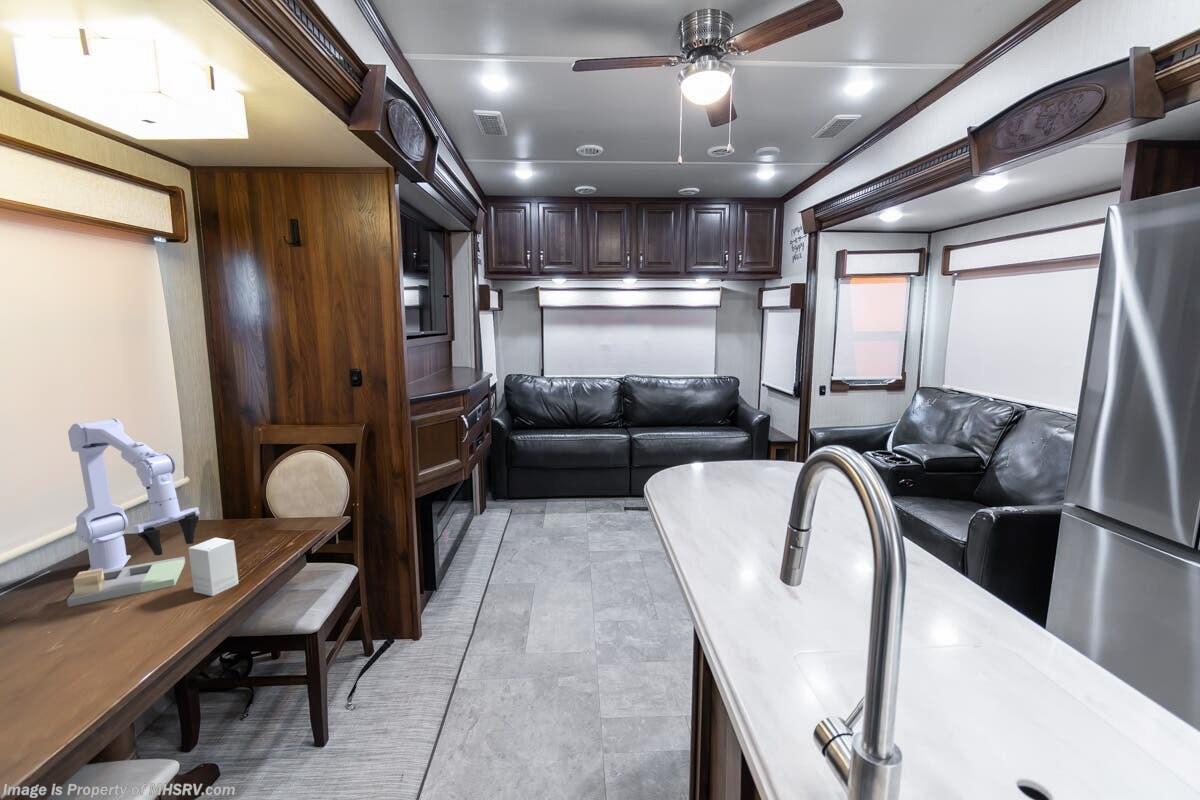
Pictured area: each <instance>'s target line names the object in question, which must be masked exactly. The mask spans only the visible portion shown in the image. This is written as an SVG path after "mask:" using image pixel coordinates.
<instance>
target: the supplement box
mask: <svg viewBox="0 0 1200 800" xmlns="http://www.w3.org/2000/svg"><path fill="white" fill-rule="evenodd" d="M188 555H189V564H190V565H189V566H190V570H191V571H190V572H191V578H192V586H193V593H196V594H202V595H205V596H210V597H214V596H216V595H218V594H220V593H223V592H224V591H226V590H228V589H231V588H233V587H235V586H237V585H239V574H238V565H237V556H236V548H235V540H233V539H226V538H220V537H213V538H210V539H207V540H204V541H203V542H200V543H198V544H194V545H193V546H189V547H188Z"/></svg>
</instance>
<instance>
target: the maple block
mask: <svg viewBox="0 0 1200 800" xmlns="http://www.w3.org/2000/svg"><path fill="white" fill-rule="evenodd" d="M88 570H89V569H88ZM88 570H83V571H79V572H78V573H77V575H75V576H74V578H73V579H72V581H73V589H74V590H75V596H78V595H84V594H89V593H94V592H99V591H100V590H101V589H102V587H103V586H104V585H105V581H104V574H103V568H100V569H95V570H89V571H88Z"/></svg>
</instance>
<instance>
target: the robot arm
mask: <svg viewBox="0 0 1200 800" xmlns="http://www.w3.org/2000/svg"><path fill="white" fill-rule="evenodd" d="M67 434H68V440H69V446H70V449H71V451H72V452H74V453H77V454H78V456H79V457H78V458H79V462H80V463H79V465H80V469H81V474H82V482H83V485H84V492H85V497H86V503H87V507H86V508H85V509H84V510H82V511H81V512H80V513H79V514H78V515H77V516H76V519H75V520H76V521H75V522H76V526H75V533H76V536H77V538H78V540H80V541H81V542H83V543H86V545H87V551H88V556H89V557H88V558H89V565H90V567H89V568H88V570H87V571H89V570H95V569H100V568H103V571H105V570H111V569H116V568H122V567H126V566H125V565H126V564H127V563H128V561H129V560H130V559H131V557H132V556H131V555H130V554H128V555H127V549H126V543H125V537H124V536H123V535H125V532H126V530H127V529H128V526H129V520H128V516H127V515H126V513H125V508H123V507H122V506H120V505H117V504H115V503H113V502H112V495H111V491H110V485H109V480H108V473H107V472H108V471H107V467H106V460H105V456H104V451H105V450H106V449H107V448H108V447H109V446H111V447H113V448H114V449H116V450H118V451H119V452H121V453H120V455H121V458H122V459H123V460H124V461H126V462H127V463H128V464H129V465H131V466H132V467H133V468H135V469H136V470H135V471H136V475H137V477H138V478H139V480H140V481H141V485H142V486H143V487H145V491H146V494H147V497H148V503H149V508H150V511H151V515H152V516H151V517H152V519H149V520H146V521H144V522H141V523H139V524H135V525H132V527H133V531H134V534H137V535H138V536H139V537H140V539H142V540H143V541H144V542H145V543H146V544H147V545H148V547H149V549H151V551H152V553H153V554H154V556H162V555H163V549H162V544H161V539H160V538H161V536H160V534H161V531H160V529H156V528H158V527H161V526H164V525H167V524H171V523H174V522H176V521H177V522H178V524H179V525H180V527H181V530H182V533H183V537H184V541H185V543H186V545H191V544H194V543H195V542H194V540H195V532H196V528H197V524H198V522H199V519H200V517H199V515H200V510H199V509H200V508H199V507H196V506H195V507H191V508H186V509H183V510H181V509H180V504H179V499H178V496H177V495H178V494H177V490H176V488H175V483H174V479H173V478H174V477H173V474H174V473H175V471H176V462H175V461H174V458H173V456H171V455H170V454H169V453H158V452H156V450H154V449H153V448H151V447H150V446H148V445H147V444H146V443H144V442H142V441H135V440H133V439H132V438H131V437H130V436H129V435H128V434H127V433H125V427H124V425H123V423H122V421H120V420H119V419H117V418H109V419H103V420H97V421H89V422H81V423H79V422H77V423H73V424H72V425H71V426H70V428H69V429H68V431H67Z"/></svg>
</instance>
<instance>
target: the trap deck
mask: <svg viewBox="0 0 1200 800" xmlns="http://www.w3.org/2000/svg"><path fill="white" fill-rule="evenodd" d="M185 564H186V556H180V557H174V558H168V559H163V560H158V561H157V560H156V561H151V562H146V563H140V564H135V565H128V566H124V567H122V568H116V569H111V570H105V571H103V574H104V581H105V585H104V586H103V587H102V589H101V590H100V591H99V592H94V593H89V594H84V595H78V596H75V589H74V590H73V592H72V593H71V594H70V595H69V597H67V599H66V603H67V607H68V608H70V607H74V606H76V607H77V606H80V605H81V606H82V605H85V604H86V605H87V604H91V603H95V602H96V603H97V602H100V601H105V600H111V599H115V598H121V597H126V596H131V595H135V594H141V593H145V592H150V591H155V590H161V589H166V588H171V587H175V586H176V583H177V582H178V580H179V578H180V576H181V573H182V571H183V569H184V567H185Z"/></svg>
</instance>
